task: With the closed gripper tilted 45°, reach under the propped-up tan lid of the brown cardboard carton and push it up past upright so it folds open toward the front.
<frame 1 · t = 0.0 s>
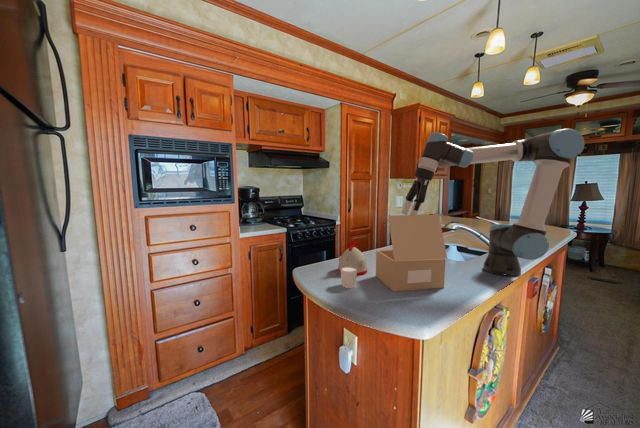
hand: (407, 216, 116), 28 cm above the countertop, tool tilted 20°, fingers open, 13 cm apart
kitchen timer: (352, 271, 128), on the countertop
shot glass: (348, 286, 109), on the countertop
carton lid: (417, 237, 106), point 21 cm above the countertop, hinge at 68.0°, touching gripper
carton: (407, 281, 114), on the countertop
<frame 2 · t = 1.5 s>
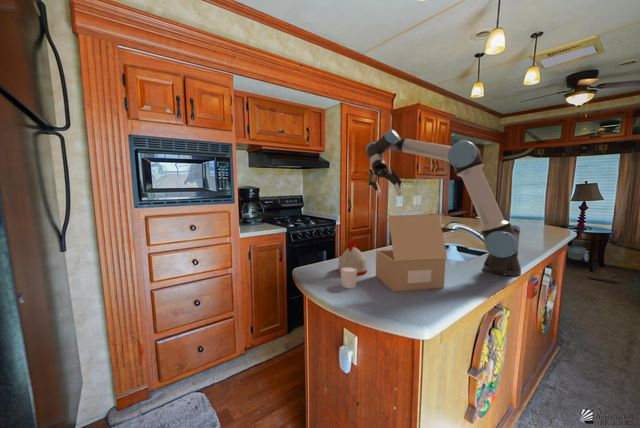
hand: (389, 194, 130), 37 cm above the countertop, tool tilted 45°, fingers open, 10 cm apart
carton lid: (417, 237, 106), point 21 cm above the countertop, hinge at 68.2°
everything else where it was.
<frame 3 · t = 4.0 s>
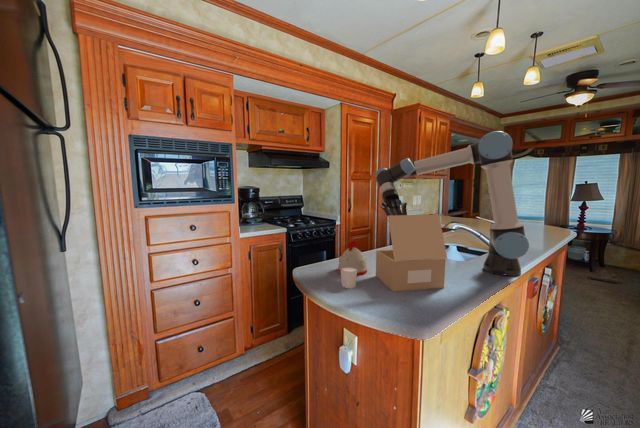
hand: (404, 232, 116), 21 cm above the countertop, tool tilted 45°, fingers closed
nothing on the countertop moved.
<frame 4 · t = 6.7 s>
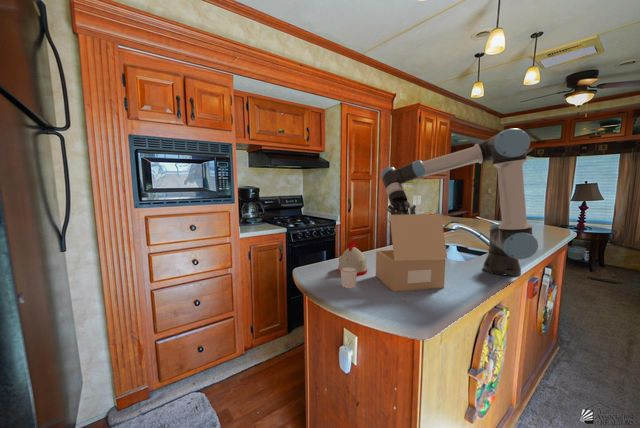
hand: (412, 239, 106), 20 cm above the countertop, tool tilted 45°, fingers closed
carton lid: (418, 236, 105), point 21 cm above the countertop, hinge at 72.9°, touching gripper
everything else where it was.
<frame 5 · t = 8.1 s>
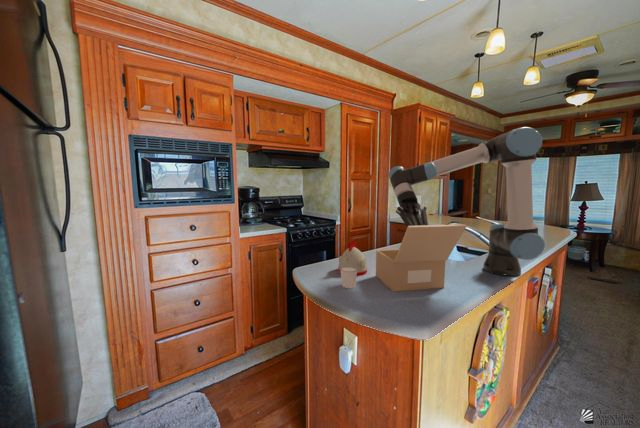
hand: (424, 243, 99), 20 cm above the countertop, tool tilted 45°, fingers closed
carton lid: (429, 244, 98), point 20 cm above the countertop, hinge at 122.4°, touching gripper
everything else where it was.
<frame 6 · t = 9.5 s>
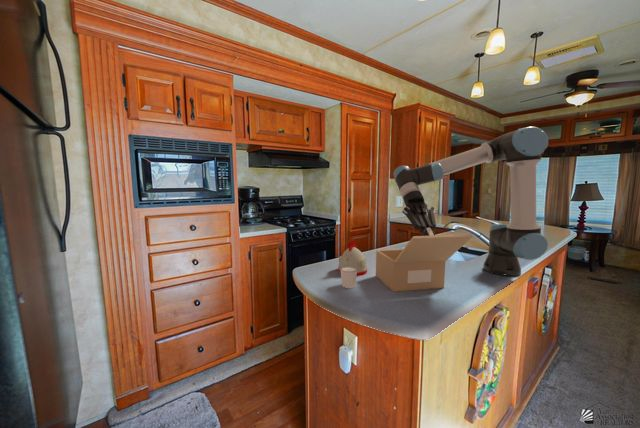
hand: (433, 244, 95), 20 cm above the countertop, tool tilted 45°, fingers closed
carton lid: (431, 249, 96), point 18 cm above the countertop, hinge at 137.2°, touching gripper
everything else where it was.
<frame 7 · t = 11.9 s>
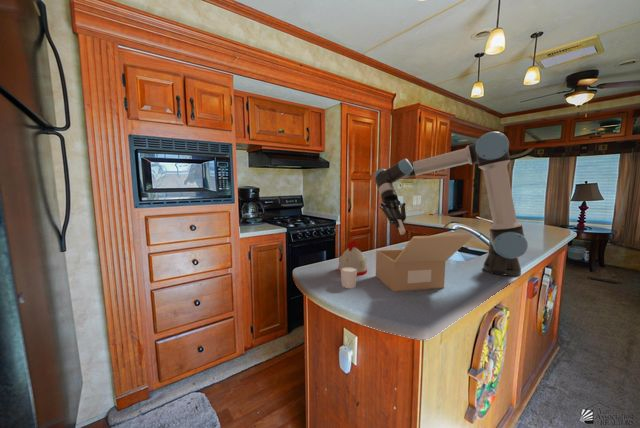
hand: (402, 232, 118), 20 cm above the countertop, tool tilted 45°, fingers closed
carton lid: (431, 249, 96), point 18 cm above the countertop, hinge at 137.2°
everything else where it was.
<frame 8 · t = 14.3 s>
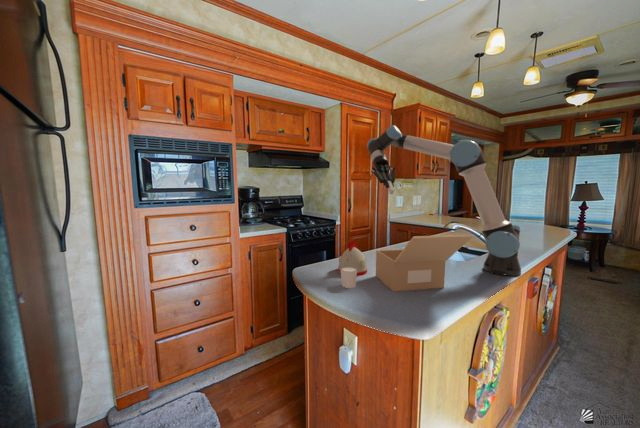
hand: (392, 192, 128), 38 cm above the countertop, tool tilted 45°, fingers closed
nothing on the countertop moved.
at the end: carton lid at +137° (first picture: +68°); kitchen timer moved 0.3 cm from its start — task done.
